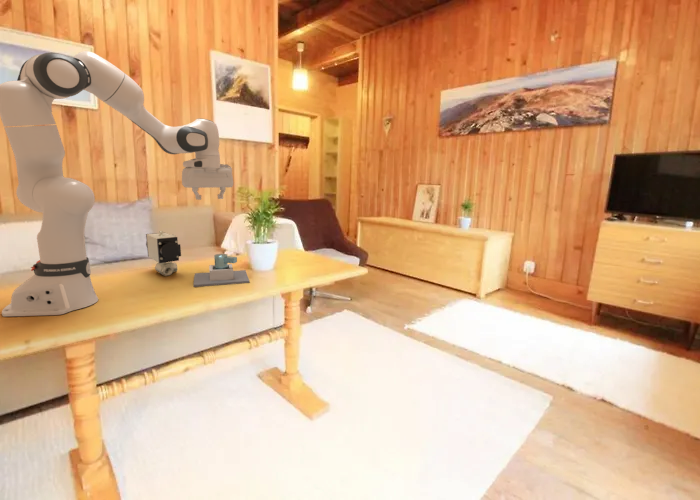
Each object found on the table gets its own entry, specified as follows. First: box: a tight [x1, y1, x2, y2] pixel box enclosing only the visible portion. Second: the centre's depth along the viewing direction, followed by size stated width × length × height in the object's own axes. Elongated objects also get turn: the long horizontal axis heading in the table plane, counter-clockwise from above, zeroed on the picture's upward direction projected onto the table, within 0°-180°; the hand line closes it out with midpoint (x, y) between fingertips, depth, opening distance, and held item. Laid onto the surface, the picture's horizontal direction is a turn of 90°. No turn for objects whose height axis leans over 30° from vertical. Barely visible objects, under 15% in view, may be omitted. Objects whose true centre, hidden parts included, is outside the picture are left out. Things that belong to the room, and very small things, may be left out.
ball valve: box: [145, 230, 182, 277], centre depth 144 cm, size 18×8×18 cm, turn 46°
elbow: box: [213, 253, 238, 270], centre depth 140 cm, size 9×5×9 cm, turn 78°
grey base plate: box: [192, 263, 250, 288], centre depth 141 cm, size 20×16×5 cm
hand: (209, 199), depth 141 cm, fingers open, 8 cm apart
